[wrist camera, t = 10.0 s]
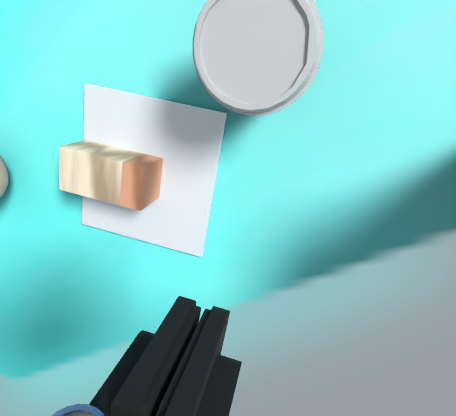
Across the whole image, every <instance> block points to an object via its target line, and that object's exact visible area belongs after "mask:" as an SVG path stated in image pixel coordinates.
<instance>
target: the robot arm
mask: <svg viewBox="0 0 456 416" xmlns="http://www.w3.org/2000/svg"><path fill="white" fill-rule="evenodd" d="M200 312H201V307H198V306H196V301H195V300H192V299H188V298H185V297H181V296H179V297H178V298H177V300H176V301H175V303H174V305H173V306H172V308H171V309H170V311H169V312H168V314H167V316H166V317H165V319H164V320H163V322H162V324H161V325H160V327H159V328H158V330H157V332H156V333H155V334H153V333H150V332H147V331H144V330H142V331H141V332H140V333H139V334H138V335H137V337H136V338H135V339H134V341H133V342H132V344H131V345H130V347H129V348H128V349H127V351H126V352H125V354H124V355H123V357H122V358H121V359H120V361H119V362H118V364H117V365H116V367H115V368H114V370H113V371H112V372H111V374H110V375H109V377H108V378H107V380H106V381H105V382H104V384H103V385H102V387H101V388H100V390H99V391H98V392H97V394H96V395H95V397H94V398H93V400H92V401H91V402H90V404H89V405H88V404H76V405H71V406H67V407H65V408H63V409H61V410H59V411H57V412H56V413H54V414H53V415H52V416H229V412H230V408H231V404H232V400H233V395H234V392H235V387H236V384H237V379H238V375H239V371H240V367H241V361H237V360H234V359H231V358H228V357H225V356H222V355H220V354H221V350H222V345H223V341H224V336H225V332H226V327H227V323H228V318H229V314H230V311H228V310H225V309H222V308H218V307H215V306H213V308H212V310H208V309H205V311H204V313H203V315H202V317H201V319H200V321H199V317H200Z"/></svg>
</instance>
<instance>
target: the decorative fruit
mask: <svg viewBox="0 0 456 416" xmlns="http://www.w3.org/2000/svg"><path fill="white" fill-rule="evenodd" d="M7 186H8V172H7V168H6V166H5V164H4V162H3V160H2V158H1V157H0V198H1V197H2V195H3V194H4V193H5V191H6V189H7Z"/></svg>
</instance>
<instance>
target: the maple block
mask: <svg viewBox="0 0 456 416" xmlns="http://www.w3.org/2000/svg"><path fill="white" fill-rule="evenodd" d="M162 167H163V158H160V157H156V156H152V155H147V154H143V153H139V152H135V151H131V150H126V149H122V148H118V147H114V146H110V145H105V144H101V143H97V142H93V141H88V140H86V141H81V142H77V143H72V144H68V145H64V146H59V190H63V191H67V192H70V193H74V194H78V195H82V196H85V197H89V198H93V199H97V200H101V201H104V202H108V203H112V204H116V205H120V206H123V207H127V208H131V209H135V210H138V211H141V210H143V209H144V208H145V207H147V206H148V205H150V204H151V203H152V202H154V201H155V200H156V199H158V198H159V194H160V185H161V176H162Z"/></svg>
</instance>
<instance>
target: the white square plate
mask: <svg viewBox="0 0 456 416" xmlns="http://www.w3.org/2000/svg"><path fill="white" fill-rule="evenodd" d="M226 118H227V113H225V112H220V111H215V110H211V109H206V108H201V107H196V106H192V105H187V104H182V103H177V102H173V101H168V100H163V99H158V98H154V97H149V96H144V95H139V94H135V93H130V92H125V91H120V90H116V89H111V88H106V87H101V86H97V85H92V84H85V94H84V140H83V141H86V140H88V141H93V142H97V143H101V144H105V145H110V146H114V147H118V148H122V149H126V150H131V151H135V152H139V153H143V154H147V155H152V156H156V157H160V158H163V167H162V176H161V185H160V194H159V198H158V199H156V200H155V201H154V202H152V203H151V204H150V205H148V206H147V207H145V208H144V209H143V210H141V211H138V210H135V209H131V208H127V207H123V206H120V205H116V204H112V203H108V202H104V201H101V200H97V199H93V198H89V197H85V196H82V224H84V225H88V226H91V227H95V228H99V229H102V230H106V231H109V232H113V233H117V234H120V235H124V236H127V237H131V238H135V239H138V240H142V241H145V242H149V243H153V244H156V245H160V246H163V247H167V248H171V249H174V250H178V251H181V252H185V253H189V254H192V255H196V256H199V257H202V255H203V250H204V245H205V239H206V233H207V227H208V222H209V216H210V210H211V204H212V199H213V193H214V187H215V181H216V175H217V170H218V164H219V158H220V152H221V147H222V141H223V135H224V129H225V123H226Z"/></svg>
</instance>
